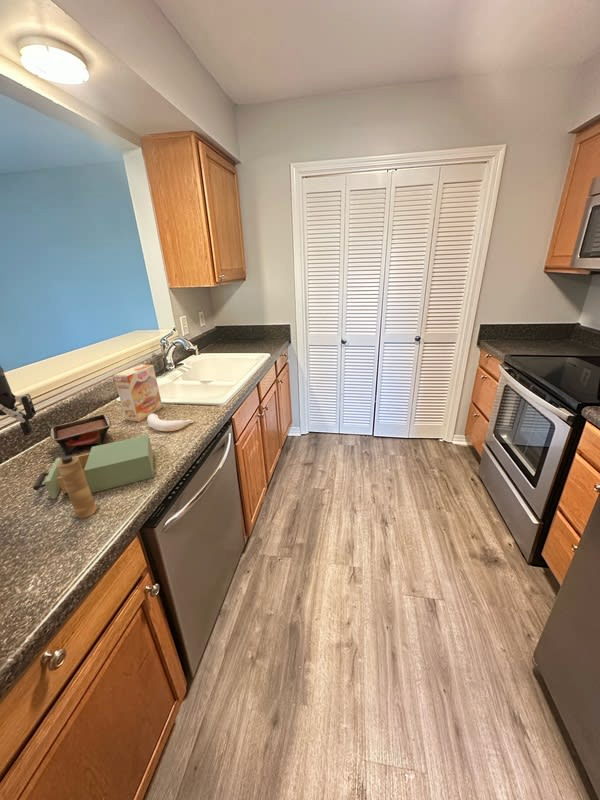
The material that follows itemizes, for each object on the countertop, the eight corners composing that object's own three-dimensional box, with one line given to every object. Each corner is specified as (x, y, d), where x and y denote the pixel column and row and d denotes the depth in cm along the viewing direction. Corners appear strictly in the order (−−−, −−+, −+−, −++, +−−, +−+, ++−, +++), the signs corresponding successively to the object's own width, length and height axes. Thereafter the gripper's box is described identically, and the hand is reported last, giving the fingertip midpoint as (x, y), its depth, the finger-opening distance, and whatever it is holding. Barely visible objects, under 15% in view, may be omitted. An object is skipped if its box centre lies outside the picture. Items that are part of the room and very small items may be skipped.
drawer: (33, 503, 84) (25, 486, 82) (46, 477, 95) (40, 461, 93) (113, 483, 90) (107, 467, 88) (116, 461, 101) (112, 446, 99)
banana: (141, 422, 129) (177, 411, 138) (160, 440, 116) (198, 426, 125) (139, 411, 127) (175, 400, 136) (157, 428, 114) (196, 415, 123)
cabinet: (91, 493, 88) (83, 470, 86) (98, 467, 100) (91, 446, 97) (153, 477, 94) (148, 455, 91) (153, 454, 106) (148, 434, 103)
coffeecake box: (139, 421, 130) (127, 375, 122) (124, 420, 132) (112, 374, 124) (163, 407, 143) (153, 364, 135) (150, 405, 145) (140, 363, 137)
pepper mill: (74, 520, 79) (52, 464, 73) (78, 509, 82) (57, 455, 76) (95, 514, 80) (75, 459, 74) (97, 504, 84) (79, 451, 78)
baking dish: (113, 450, 114) (111, 423, 111) (50, 459, 104) (45, 430, 102) (111, 436, 125) (109, 412, 123) (54, 444, 116) (50, 417, 114)
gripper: (-67, 386, 70) (-33, 451, 77) (14, 375, 75) (39, 437, 82) (-49, 376, 77) (-19, 437, 83) (25, 367, 82) (47, 425, 88)
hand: (10, 437), depth 82 cm, fingers open, 7 cm apart
